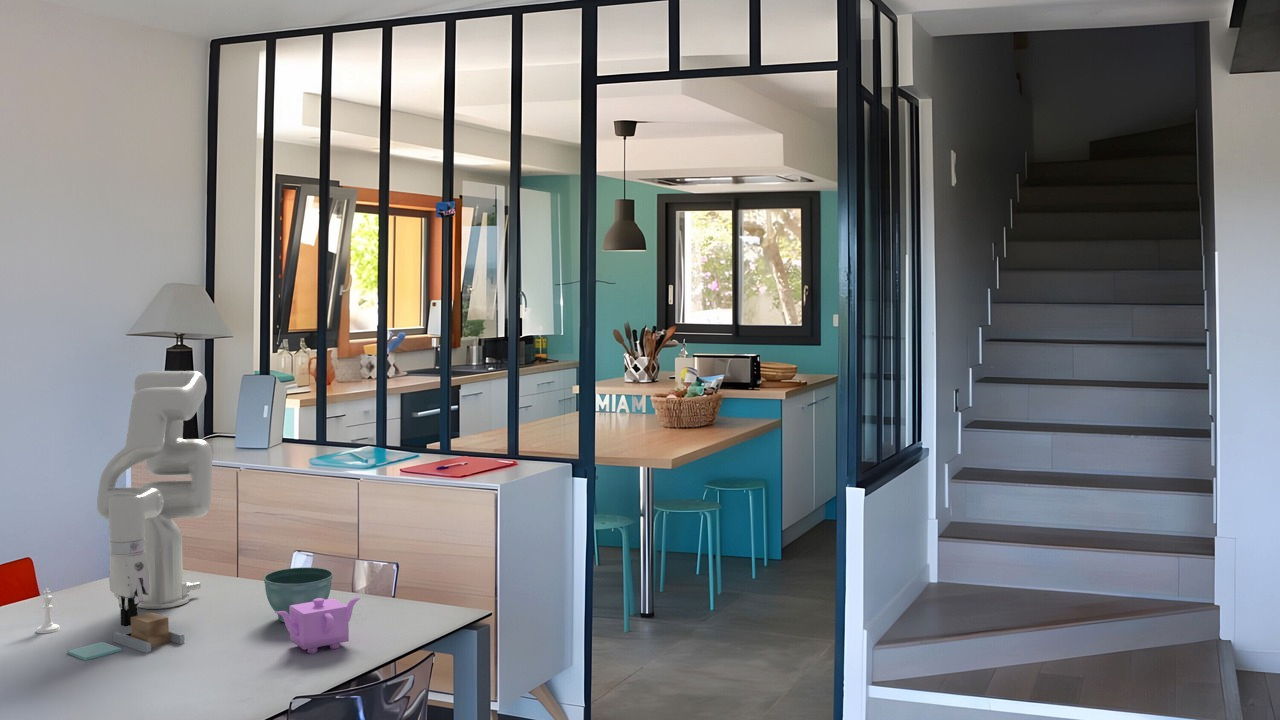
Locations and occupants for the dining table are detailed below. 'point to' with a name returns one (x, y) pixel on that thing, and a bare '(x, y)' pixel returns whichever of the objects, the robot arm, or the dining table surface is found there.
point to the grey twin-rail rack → (143, 645)
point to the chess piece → (47, 616)
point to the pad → (93, 651)
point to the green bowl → (296, 587)
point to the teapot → (319, 623)
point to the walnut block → (150, 628)
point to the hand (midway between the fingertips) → (129, 624)
